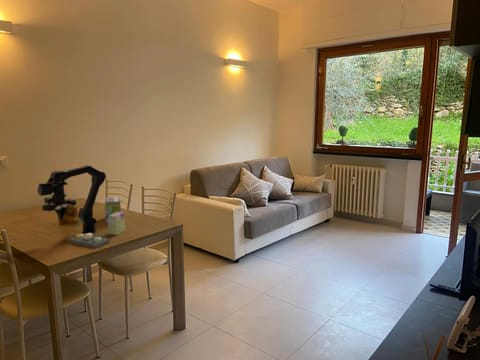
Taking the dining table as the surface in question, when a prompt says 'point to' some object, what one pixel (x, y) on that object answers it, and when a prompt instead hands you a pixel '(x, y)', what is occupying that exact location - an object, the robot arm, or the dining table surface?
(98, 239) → the sage button
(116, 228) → the box
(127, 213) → the dining table surface
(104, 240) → the button panel
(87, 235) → the cream button
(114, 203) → the tea box
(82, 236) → the mustard button
